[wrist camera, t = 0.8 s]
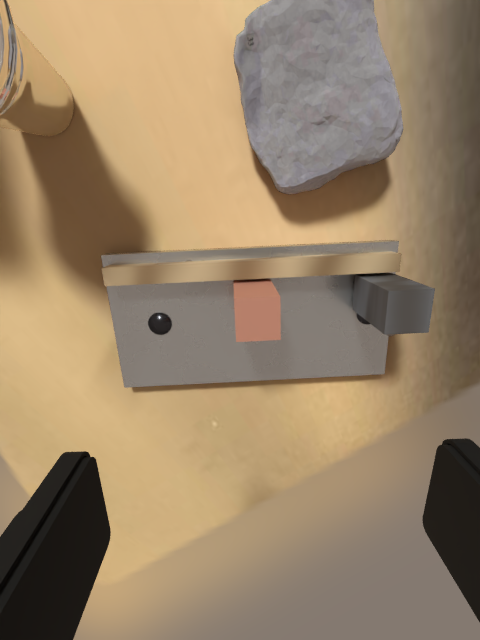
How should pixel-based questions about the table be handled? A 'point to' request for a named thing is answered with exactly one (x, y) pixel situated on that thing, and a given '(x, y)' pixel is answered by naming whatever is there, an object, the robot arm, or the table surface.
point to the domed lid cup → (29, 84)
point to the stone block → (316, 90)
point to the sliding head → (256, 311)
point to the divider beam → (369, 289)
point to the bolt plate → (219, 323)
